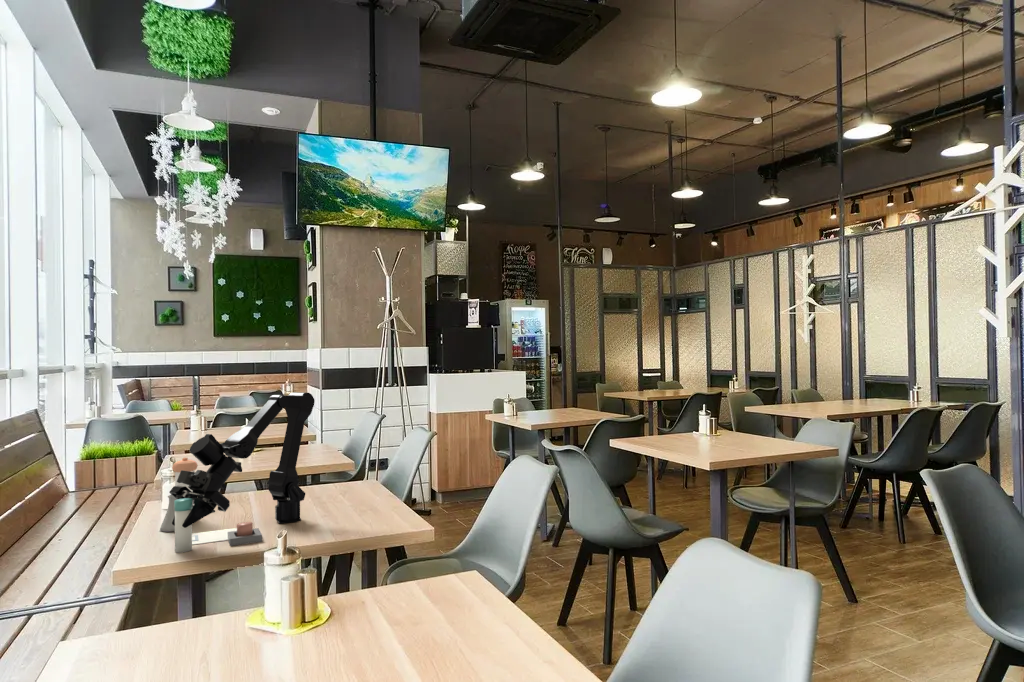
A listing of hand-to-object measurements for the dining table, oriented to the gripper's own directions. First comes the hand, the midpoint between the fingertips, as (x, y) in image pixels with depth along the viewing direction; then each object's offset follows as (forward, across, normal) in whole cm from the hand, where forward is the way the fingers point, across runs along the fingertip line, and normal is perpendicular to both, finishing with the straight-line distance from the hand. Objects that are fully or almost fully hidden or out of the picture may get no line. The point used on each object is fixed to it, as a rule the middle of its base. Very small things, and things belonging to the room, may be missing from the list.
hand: (178, 525), depth 168 cm
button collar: (-6, +6, +15) cm, 18 cm away
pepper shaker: (-10, -30, +20) cm, 37 cm away
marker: (+4, 0, +6) cm, 7 cm away
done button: (-7, +6, +14) cm, 17 cm away
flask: (-4, -22, +14) cm, 27 cm away
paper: (-4, -5, +14) cm, 15 cm away
